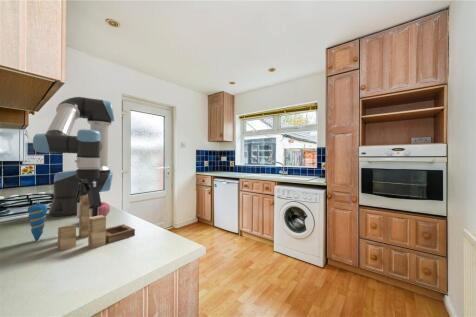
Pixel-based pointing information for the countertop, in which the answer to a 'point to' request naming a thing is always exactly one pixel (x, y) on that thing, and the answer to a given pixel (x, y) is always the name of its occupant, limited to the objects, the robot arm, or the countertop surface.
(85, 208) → the long pin
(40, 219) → the ornament
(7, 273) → the countertop surface
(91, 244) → the medium pin
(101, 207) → the apple
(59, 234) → the short pin
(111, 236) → the collar block
